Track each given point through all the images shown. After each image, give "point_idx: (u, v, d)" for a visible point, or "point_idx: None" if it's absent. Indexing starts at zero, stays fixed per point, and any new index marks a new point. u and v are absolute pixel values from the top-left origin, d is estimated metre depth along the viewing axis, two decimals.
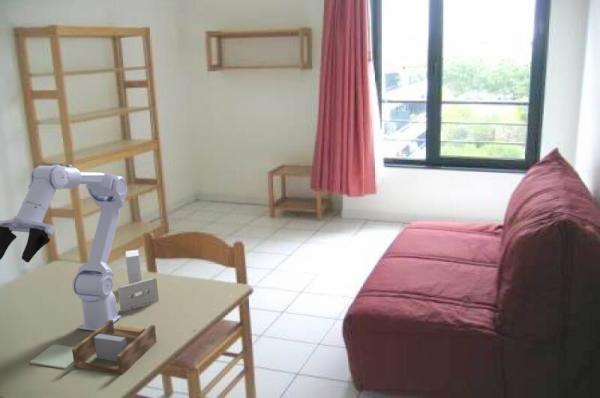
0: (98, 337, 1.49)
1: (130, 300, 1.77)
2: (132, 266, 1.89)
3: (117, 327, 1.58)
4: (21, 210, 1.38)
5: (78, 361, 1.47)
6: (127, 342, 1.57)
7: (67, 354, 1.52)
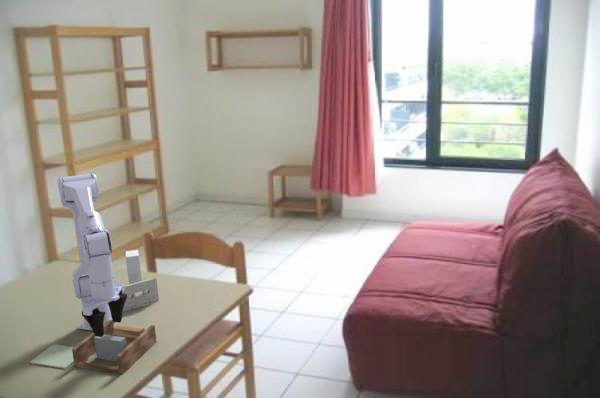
0: (98, 337, 1.49)
1: (130, 300, 1.77)
2: (132, 266, 1.89)
3: (116, 327, 1.58)
4: (110, 289, 1.44)
5: (78, 361, 1.47)
6: (126, 342, 1.57)
7: (67, 354, 1.52)
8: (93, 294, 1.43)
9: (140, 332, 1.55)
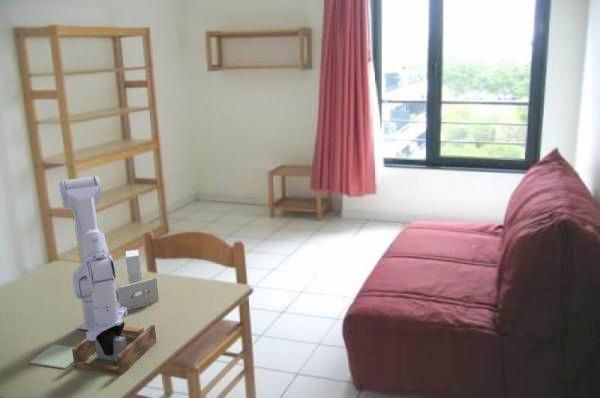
0: None
1: (130, 300, 1.77)
2: (132, 266, 1.89)
3: None
4: (113, 314, 1.46)
5: (78, 361, 1.47)
6: (126, 342, 1.57)
7: (67, 354, 1.52)
8: (97, 319, 1.45)
9: (139, 332, 1.55)
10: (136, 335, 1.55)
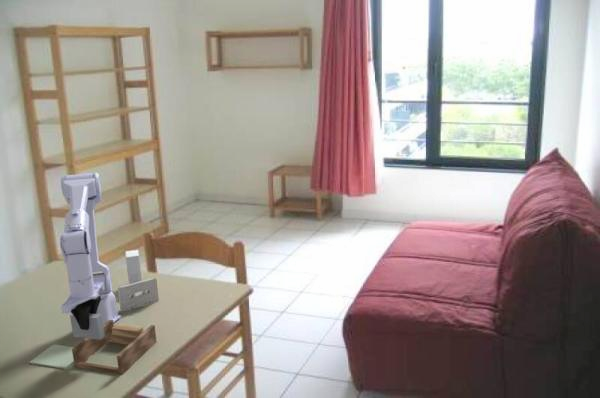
0: None
1: (130, 300, 1.77)
2: (132, 266, 1.89)
3: (115, 327, 1.58)
4: (89, 287, 1.44)
5: (78, 361, 1.47)
6: (125, 342, 1.57)
7: (67, 354, 1.52)
8: (72, 292, 1.44)
9: (139, 332, 1.56)
10: (135, 335, 1.56)
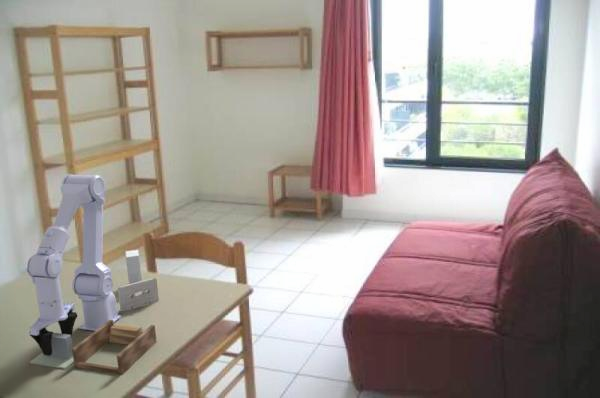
0: None
1: (130, 300, 1.77)
2: (132, 266, 1.89)
3: (114, 326, 1.58)
4: (58, 309, 1.47)
5: (78, 361, 1.47)
6: (124, 341, 1.57)
7: None
8: (41, 314, 1.46)
9: (137, 331, 1.56)
10: (134, 334, 1.56)
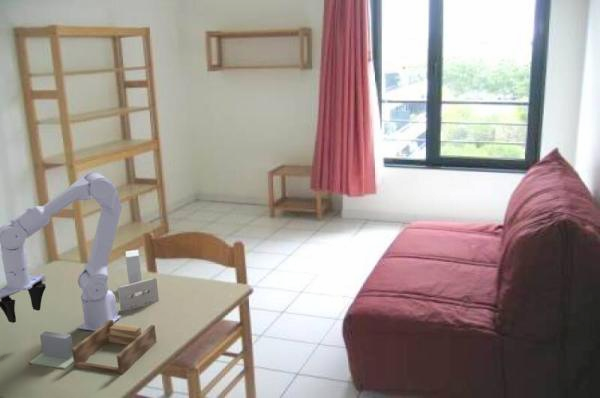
0: (44, 335, 1.51)
1: (130, 300, 1.77)
2: (132, 266, 1.89)
3: (113, 327, 1.58)
4: (22, 279, 1.52)
5: (78, 361, 1.47)
6: (123, 341, 1.58)
7: None
8: (7, 282, 1.52)
9: (136, 332, 1.56)
10: (133, 335, 1.56)
